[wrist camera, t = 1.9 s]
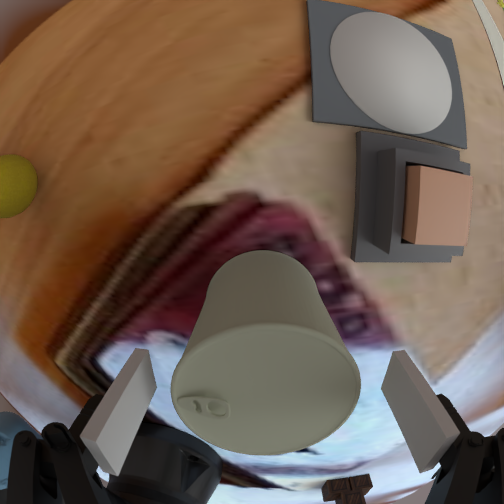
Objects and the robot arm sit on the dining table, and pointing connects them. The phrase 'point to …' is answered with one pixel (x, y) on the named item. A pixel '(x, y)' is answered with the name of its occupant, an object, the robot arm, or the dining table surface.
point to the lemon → (16, 185)
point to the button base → (393, 197)
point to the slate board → (384, 74)
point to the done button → (436, 206)
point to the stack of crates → (347, 489)
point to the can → (264, 361)
